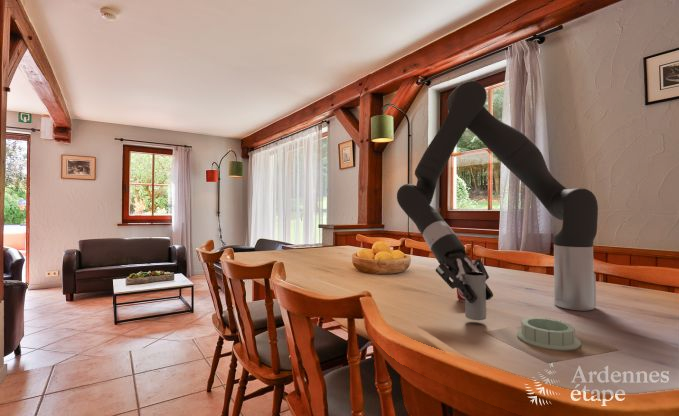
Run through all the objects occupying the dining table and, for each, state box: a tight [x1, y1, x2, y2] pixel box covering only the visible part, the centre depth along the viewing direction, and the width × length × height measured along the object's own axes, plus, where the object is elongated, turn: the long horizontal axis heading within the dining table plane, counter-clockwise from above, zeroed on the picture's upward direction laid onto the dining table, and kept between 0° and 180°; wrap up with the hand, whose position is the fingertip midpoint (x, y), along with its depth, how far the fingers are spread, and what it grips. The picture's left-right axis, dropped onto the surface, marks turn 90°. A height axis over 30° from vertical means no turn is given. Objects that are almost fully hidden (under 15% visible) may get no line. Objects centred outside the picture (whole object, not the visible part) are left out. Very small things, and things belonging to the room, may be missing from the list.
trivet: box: [482, 325, 622, 364], centre depth 69 cm, size 18×16×1 cm
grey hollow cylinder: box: [464, 272, 487, 321], centre depth 80 cm, size 4×4×10 cm
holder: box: [517, 317, 581, 351], centre depth 69 cm, size 11×11×3 cm
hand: (482, 299), depth 78 cm, fingers closed on grey hollow cylinder, 4 cm apart
